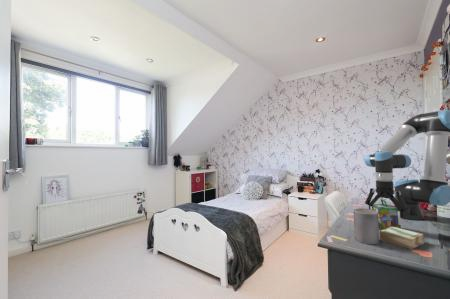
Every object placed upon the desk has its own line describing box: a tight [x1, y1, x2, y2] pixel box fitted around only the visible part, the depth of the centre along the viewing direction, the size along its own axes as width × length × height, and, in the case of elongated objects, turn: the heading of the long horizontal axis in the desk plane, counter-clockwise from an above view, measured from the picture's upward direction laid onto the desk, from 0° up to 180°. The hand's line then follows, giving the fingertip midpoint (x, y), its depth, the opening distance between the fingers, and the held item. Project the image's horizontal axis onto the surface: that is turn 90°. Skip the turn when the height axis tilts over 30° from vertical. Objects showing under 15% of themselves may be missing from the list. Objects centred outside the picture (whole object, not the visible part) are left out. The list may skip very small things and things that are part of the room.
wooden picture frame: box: [379, 227, 425, 250], centre depth 99 cm, size 12×12×4 cm
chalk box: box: [372, 198, 402, 231], centre depth 116 cm, size 9×9×15 cm
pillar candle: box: [353, 207, 380, 245], centre depth 101 cm, size 10×10×15 cm
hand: (386, 221), depth 116 cm, fingers closed on chalk box, 12 cm apart
